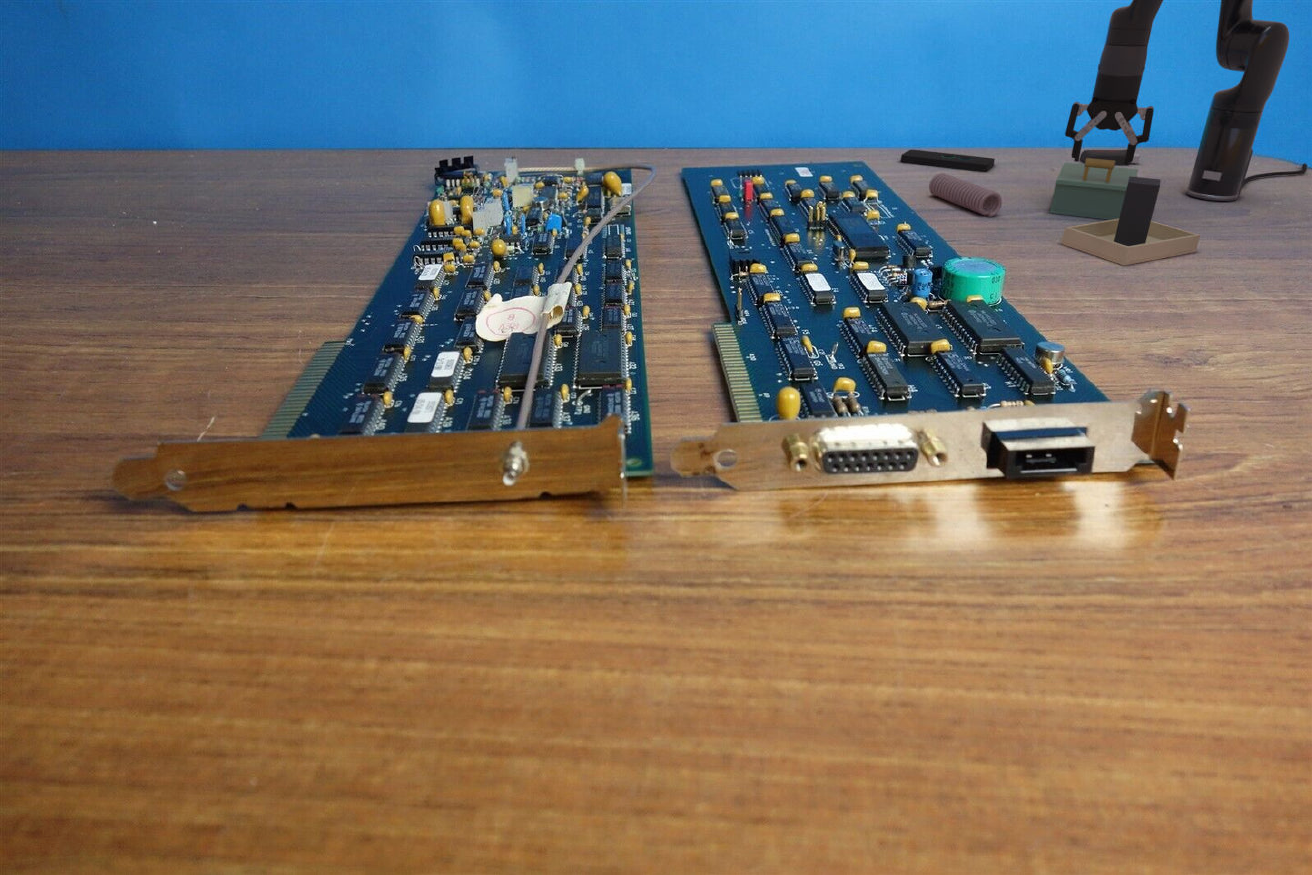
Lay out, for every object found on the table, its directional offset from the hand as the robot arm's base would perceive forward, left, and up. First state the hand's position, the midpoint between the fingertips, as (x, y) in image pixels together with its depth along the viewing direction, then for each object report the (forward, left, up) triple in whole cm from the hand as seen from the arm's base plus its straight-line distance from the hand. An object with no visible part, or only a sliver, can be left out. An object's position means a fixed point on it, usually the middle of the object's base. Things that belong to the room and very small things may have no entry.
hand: (1100, 162), depth 176 cm
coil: (+18, -15, -10) cm, 26 cm away
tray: (+12, +19, -10) cm, 24 cm away
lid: (-4, -3, -4) cm, 6 cm away
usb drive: (-41, -31, -10) cm, 52 cm away
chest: (-4, -3, -10) cm, 11 cm away
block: (+12, +19, -9) cm, 24 cm away
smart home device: (-5, -46, -10) cm, 48 cm away
